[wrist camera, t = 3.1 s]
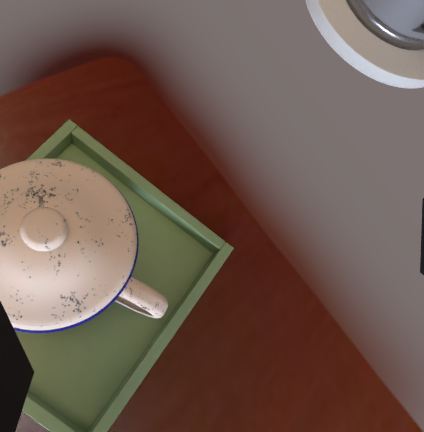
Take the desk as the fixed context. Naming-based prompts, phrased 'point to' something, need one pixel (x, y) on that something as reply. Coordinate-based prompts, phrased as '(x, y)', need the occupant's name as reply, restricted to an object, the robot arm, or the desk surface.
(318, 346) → the desk surface
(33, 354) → the tray
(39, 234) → the teacup with lid
